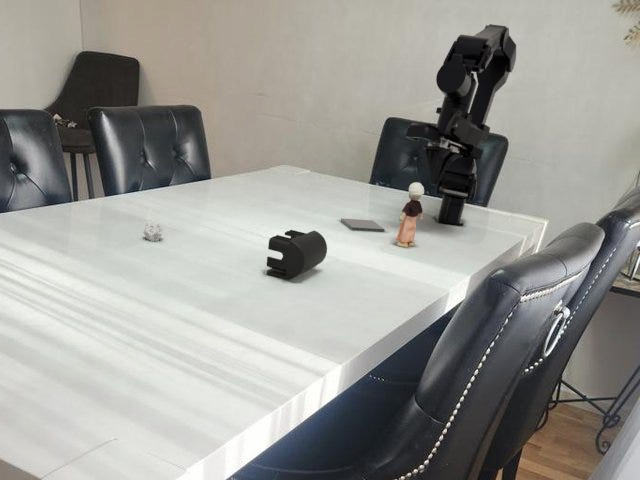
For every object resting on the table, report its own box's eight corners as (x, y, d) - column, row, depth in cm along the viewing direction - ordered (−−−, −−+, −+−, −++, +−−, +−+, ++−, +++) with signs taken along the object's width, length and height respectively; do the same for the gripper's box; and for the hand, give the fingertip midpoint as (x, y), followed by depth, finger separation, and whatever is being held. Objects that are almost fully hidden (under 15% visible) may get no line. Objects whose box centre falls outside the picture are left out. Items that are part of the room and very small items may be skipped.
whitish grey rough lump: (139, 238, 122) (139, 221, 120) (155, 236, 124) (155, 219, 123) (151, 243, 120) (151, 226, 119) (166, 240, 123) (167, 224, 121)
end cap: (300, 285, 110) (306, 244, 106) (264, 275, 112) (268, 235, 108) (324, 272, 117) (330, 234, 114) (289, 263, 120) (294, 225, 116)
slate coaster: (340, 220, 153) (341, 218, 153) (372, 222, 155) (372, 220, 155) (351, 230, 147) (352, 227, 146) (384, 231, 149) (384, 229, 148)
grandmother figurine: (403, 240, 144) (417, 179, 137) (419, 244, 142) (433, 182, 135) (387, 245, 139) (400, 182, 132) (403, 250, 137) (417, 186, 130)
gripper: (455, 92, 125) (430, 178, 131) (513, 118, 136) (488, 197, 142) (415, 92, 133) (394, 174, 139) (473, 117, 144) (451, 192, 150)
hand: (433, 184), depth 142 cm, fingers closed
